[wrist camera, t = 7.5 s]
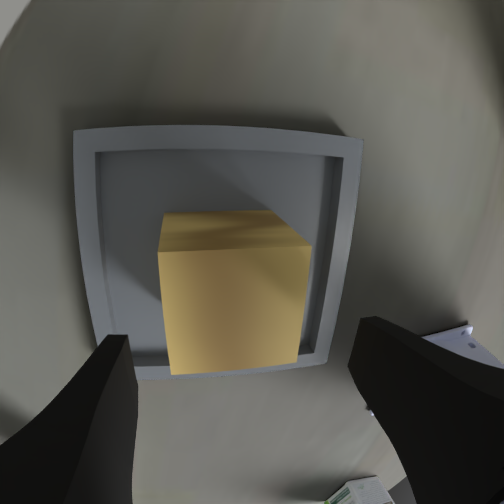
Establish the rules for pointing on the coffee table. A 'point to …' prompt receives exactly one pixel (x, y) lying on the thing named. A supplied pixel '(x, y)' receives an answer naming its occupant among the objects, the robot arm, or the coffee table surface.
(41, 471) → the robot arm
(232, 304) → the cube
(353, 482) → the syrup box
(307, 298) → the tray
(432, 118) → the coffee table surface
